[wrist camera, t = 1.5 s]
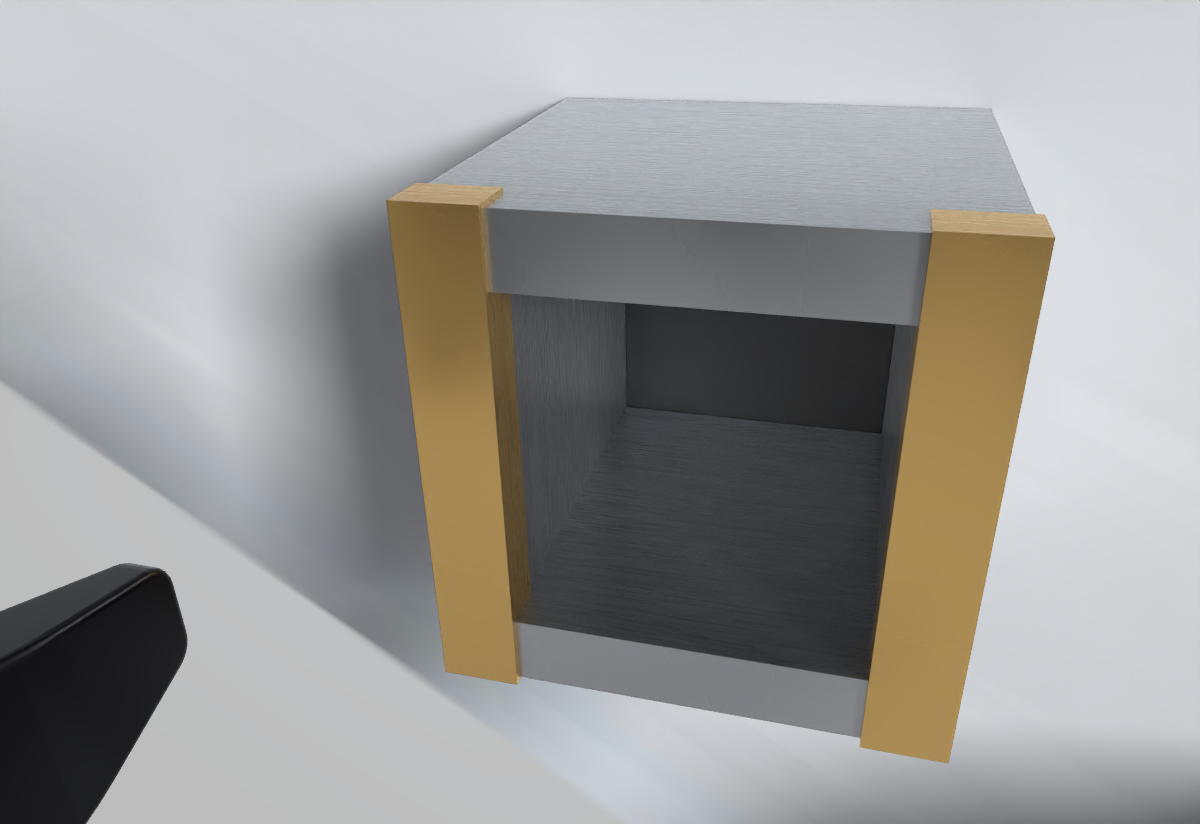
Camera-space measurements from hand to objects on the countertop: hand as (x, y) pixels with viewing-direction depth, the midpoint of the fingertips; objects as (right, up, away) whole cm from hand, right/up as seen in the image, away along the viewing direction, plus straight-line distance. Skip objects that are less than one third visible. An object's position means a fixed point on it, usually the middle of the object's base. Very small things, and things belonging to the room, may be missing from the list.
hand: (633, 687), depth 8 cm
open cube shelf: (+2, +4, +8) cm, 9 cm away
